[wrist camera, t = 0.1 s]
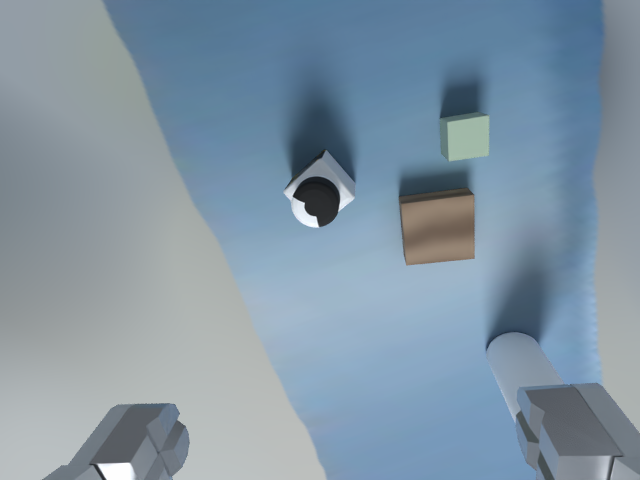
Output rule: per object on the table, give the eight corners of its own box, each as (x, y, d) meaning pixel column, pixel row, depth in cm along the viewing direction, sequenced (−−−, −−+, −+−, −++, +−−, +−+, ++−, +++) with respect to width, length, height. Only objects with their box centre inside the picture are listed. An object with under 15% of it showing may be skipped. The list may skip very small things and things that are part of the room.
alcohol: (534, 324, 62) (669, 518, 35) (540, 363, 65) (669, 569, 38) (480, 335, 64) (569, 526, 37) (489, 372, 67) (576, 574, 40)
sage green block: (439, 118, 50) (447, 122, 46) (477, 111, 49) (489, 115, 45) (441, 154, 52) (448, 161, 48) (477, 148, 51) (488, 155, 47)
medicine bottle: (325, 148, 53) (316, 166, 43) (356, 184, 55) (355, 210, 44) (291, 178, 56) (274, 203, 45) (321, 212, 58) (312, 243, 47)
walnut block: (398, 195, 56) (401, 204, 52) (466, 187, 54) (474, 194, 50) (403, 253, 59) (406, 265, 56) (467, 247, 58) (474, 258, 54)
